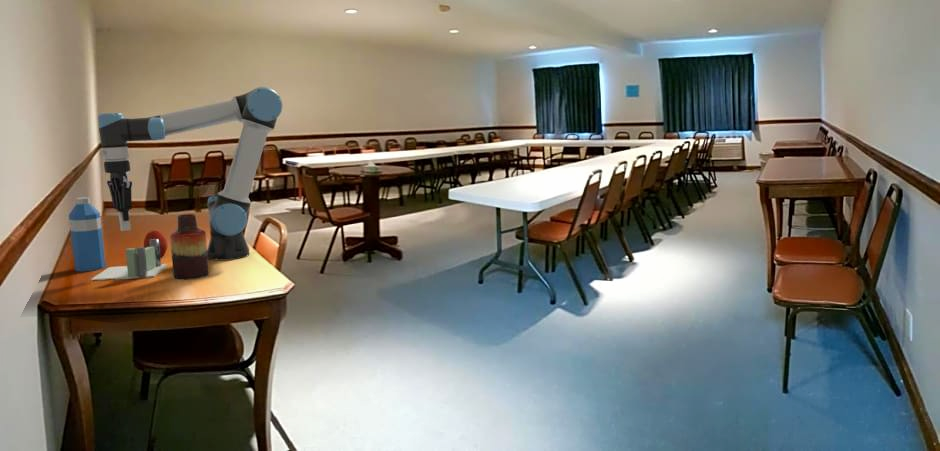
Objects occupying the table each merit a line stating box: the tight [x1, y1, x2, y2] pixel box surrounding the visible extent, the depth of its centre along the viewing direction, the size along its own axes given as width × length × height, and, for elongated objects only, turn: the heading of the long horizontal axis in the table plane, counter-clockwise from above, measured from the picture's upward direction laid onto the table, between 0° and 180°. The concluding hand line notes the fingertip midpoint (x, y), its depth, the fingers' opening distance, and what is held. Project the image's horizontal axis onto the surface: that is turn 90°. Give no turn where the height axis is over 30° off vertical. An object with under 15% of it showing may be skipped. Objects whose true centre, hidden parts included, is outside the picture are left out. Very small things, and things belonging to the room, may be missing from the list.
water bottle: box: [68, 196, 106, 272], centre depth 229 cm, size 9×9×25 cm
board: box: [90, 263, 169, 282], centre depth 223 cm, size 19×18×1 cm
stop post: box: [136, 246, 147, 279], centre depth 215 cm, size 2×2×10 cm
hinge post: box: [149, 239, 162, 267], centre depth 230 cm, size 3×3×10 cm
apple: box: [143, 230, 168, 258], centre depth 248 cm, size 8×8×11 cm
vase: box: [169, 213, 210, 281], centre depth 216 cm, size 11×11×20 cm
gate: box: [125, 247, 156, 277], centre depth 220 cm, size 15×2×9 cm, turn 1°
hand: (125, 230), depth 221 cm, fingers closed
